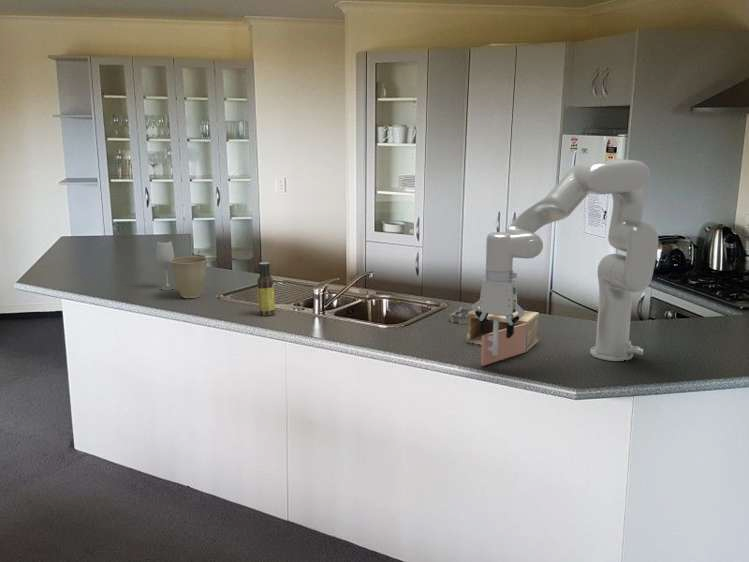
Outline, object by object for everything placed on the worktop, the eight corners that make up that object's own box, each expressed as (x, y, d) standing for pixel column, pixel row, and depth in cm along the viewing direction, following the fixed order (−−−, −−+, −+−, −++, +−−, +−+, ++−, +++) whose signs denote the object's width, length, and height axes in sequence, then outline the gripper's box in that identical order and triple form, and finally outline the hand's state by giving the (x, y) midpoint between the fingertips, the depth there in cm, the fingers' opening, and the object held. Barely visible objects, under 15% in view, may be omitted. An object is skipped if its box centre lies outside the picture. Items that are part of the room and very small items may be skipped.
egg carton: (463, 316, 263) (463, 305, 262) (480, 319, 258) (480, 308, 257) (446, 321, 255) (446, 311, 254) (463, 325, 250) (463, 314, 249)
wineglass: (155, 290, 305) (151, 242, 300) (163, 286, 312) (160, 240, 308) (171, 291, 304) (168, 243, 299) (179, 287, 311) (176, 240, 306)
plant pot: (195, 302, 284) (193, 264, 280) (165, 299, 289) (162, 261, 286) (216, 294, 297) (214, 257, 294) (187, 291, 303) (184, 255, 299)
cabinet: (537, 341, 231) (538, 312, 228) (525, 352, 220) (527, 321, 218) (480, 333, 240) (481, 305, 238) (466, 342, 230) (467, 313, 228)
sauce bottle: (278, 314, 266) (276, 262, 262) (265, 317, 262) (262, 265, 257) (268, 311, 271) (266, 260, 266) (255, 314, 266) (252, 262, 262)
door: (525, 350, 220) (526, 306, 217) (535, 354, 217) (538, 308, 214) (480, 364, 208) (482, 317, 205) (491, 368, 205) (493, 320, 202)
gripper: (532, 276, 199) (529, 336, 203) (475, 270, 208) (473, 327, 212) (524, 281, 193) (521, 343, 197) (465, 275, 202) (464, 334, 206)
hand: (496, 334), depth 204 cm, fingers open, 7 cm apart
